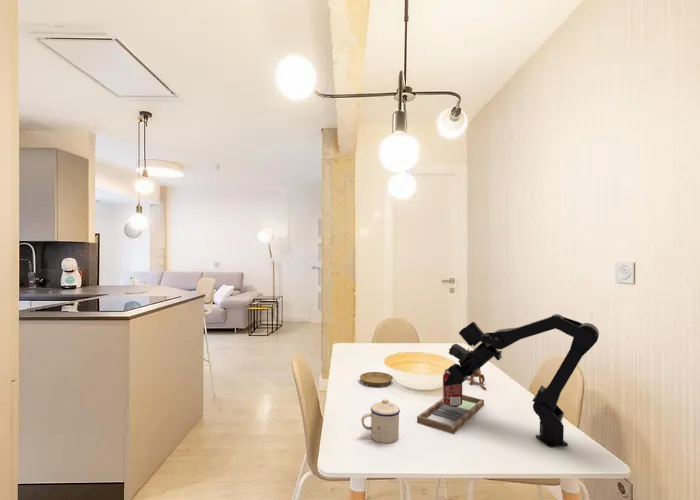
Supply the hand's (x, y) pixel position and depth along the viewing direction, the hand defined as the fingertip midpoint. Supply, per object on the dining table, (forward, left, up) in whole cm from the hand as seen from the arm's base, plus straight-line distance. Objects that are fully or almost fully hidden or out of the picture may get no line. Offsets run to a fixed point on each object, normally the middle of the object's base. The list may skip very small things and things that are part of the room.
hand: (448, 382), depth 135 cm
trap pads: (0, -1, -11) cm, 11 cm away
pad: (+6, -9, -11) cm, 16 cm away
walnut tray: (0, -1, -11) cm, 11 cm away
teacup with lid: (-13, +29, -11) cm, 34 cm away
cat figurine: (+28, -27, -11) cm, 40 cm away
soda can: (-1, -1, -8) cm, 8 cm away
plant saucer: (+36, +17, -12) cm, 41 cm away
